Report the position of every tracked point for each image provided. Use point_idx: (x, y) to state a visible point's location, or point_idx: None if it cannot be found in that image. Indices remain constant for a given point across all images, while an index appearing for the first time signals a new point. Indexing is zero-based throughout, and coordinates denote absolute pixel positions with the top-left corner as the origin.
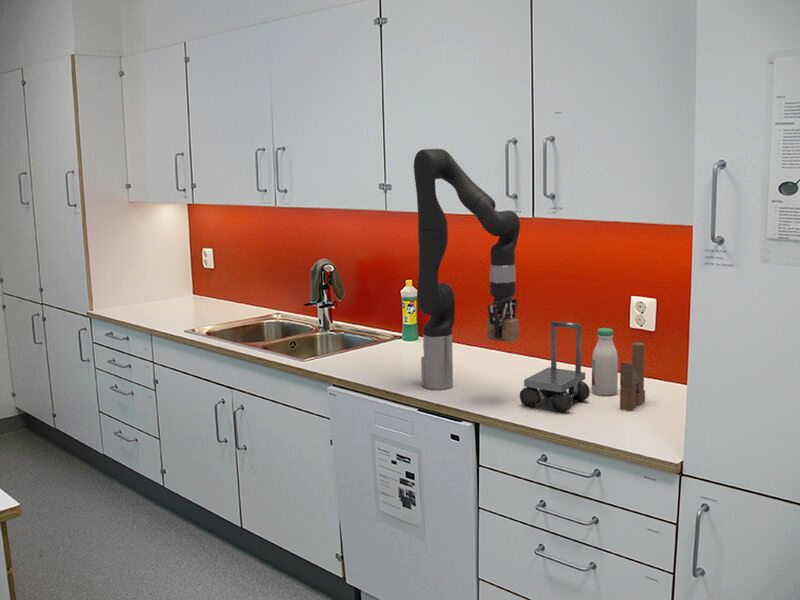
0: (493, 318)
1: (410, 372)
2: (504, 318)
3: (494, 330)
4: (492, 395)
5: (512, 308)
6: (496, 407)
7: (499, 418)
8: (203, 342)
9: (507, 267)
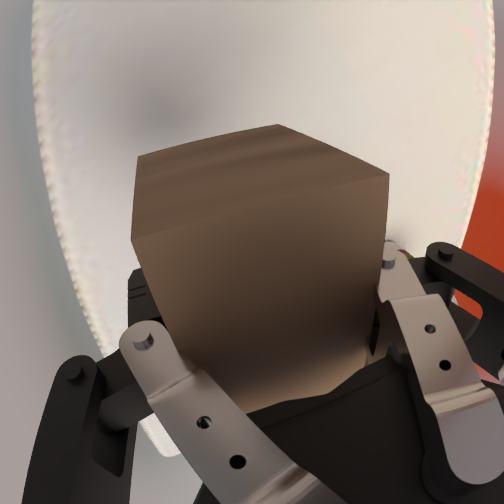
0: (265, 252)
1: None
2: (335, 327)
3: (129, 304)
4: (210, 74)
5: (483, 347)
6: (122, 170)
7: (67, 245)
8: None
9: None
